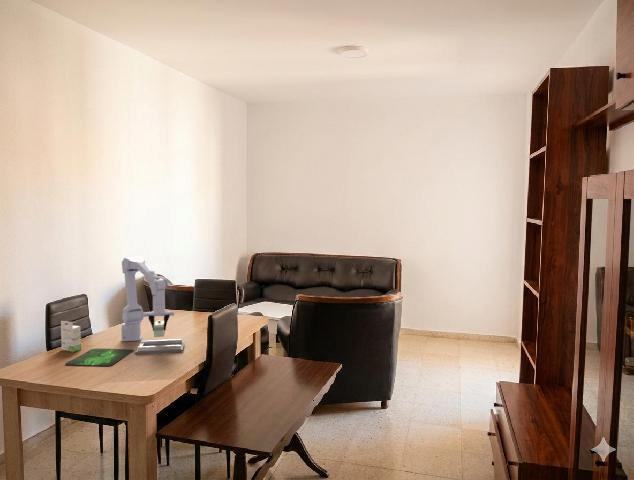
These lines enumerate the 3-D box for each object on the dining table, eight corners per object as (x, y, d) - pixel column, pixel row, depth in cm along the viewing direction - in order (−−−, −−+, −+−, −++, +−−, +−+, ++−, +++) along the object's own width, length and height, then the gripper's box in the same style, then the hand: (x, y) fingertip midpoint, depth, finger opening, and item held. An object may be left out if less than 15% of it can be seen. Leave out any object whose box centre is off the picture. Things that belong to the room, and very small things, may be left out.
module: (154, 337, 253) (153, 323, 253) (155, 333, 261) (155, 319, 261) (163, 336, 254) (163, 322, 254) (165, 332, 262) (164, 319, 262)
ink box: (81, 349, 255) (81, 320, 253) (73, 352, 250) (72, 322, 249) (69, 347, 258) (68, 318, 257) (61, 349, 254) (60, 320, 253)
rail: (137, 351, 248) (137, 347, 248) (141, 344, 259) (141, 340, 259) (180, 349, 252) (180, 345, 252) (182, 342, 263) (182, 339, 263)
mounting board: (135, 354, 247) (135, 351, 247) (139, 346, 260) (139, 344, 260) (182, 352, 252) (182, 349, 252) (184, 344, 264) (184, 342, 264)
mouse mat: (93, 348, 257) (92, 346, 257) (136, 350, 256) (136, 348, 256) (63, 366, 230) (63, 364, 230) (111, 367, 229) (111, 365, 229)
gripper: (142, 305, 251) (143, 332, 252) (173, 304, 254) (173, 331, 255) (144, 302, 258) (144, 329, 259) (174, 301, 261) (174, 328, 262)
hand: (159, 330), depth 257 cm, fingers closed on module, 5 cm apart
